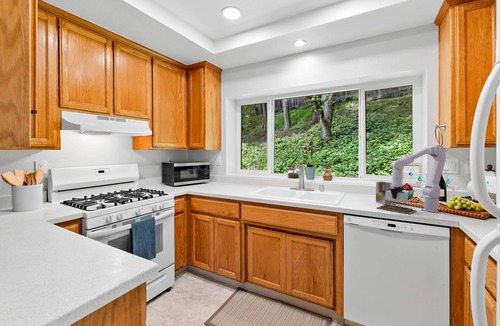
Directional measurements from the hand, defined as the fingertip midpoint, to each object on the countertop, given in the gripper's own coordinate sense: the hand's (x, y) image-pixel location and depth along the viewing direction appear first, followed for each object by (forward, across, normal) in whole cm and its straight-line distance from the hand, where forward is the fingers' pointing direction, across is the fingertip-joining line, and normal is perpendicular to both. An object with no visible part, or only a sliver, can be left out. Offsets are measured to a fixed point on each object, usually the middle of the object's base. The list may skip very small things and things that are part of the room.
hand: (396, 198), depth 164 cm
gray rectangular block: (+2, 0, 0) cm, 2 cm away
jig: (+8, 0, 0) cm, 8 cm away
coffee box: (+8, -15, -15) cm, 23 cm away
